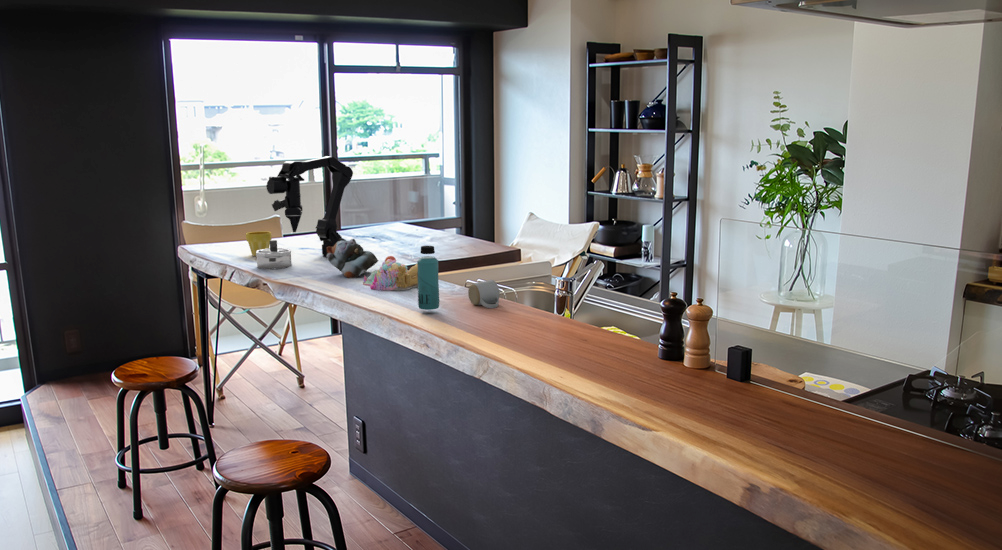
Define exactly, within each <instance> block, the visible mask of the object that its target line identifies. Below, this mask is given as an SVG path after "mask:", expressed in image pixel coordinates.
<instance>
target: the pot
mask: <svg viewBox="0 0 1002 550" xmlns="http://www.w3.org/2000/svg"><path fill="white" fill-rule="evenodd" d="M268 249H270V247H269V248H268ZM277 249H285V250H286V252H281V253H261V251H262V250H267V249H262V250H257V251H256V256H255V257H256V263H257V264H256V267H257V268H258V269H262V270H281V269H285V268H290V267H292V266H293V265H292V249H291V248H284V247H279V248H278V247H277Z"/></svg>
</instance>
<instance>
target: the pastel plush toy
mask: <svg viewBox="0 0 1002 550" xmlns="http://www.w3.org/2000/svg"><path fill="white" fill-rule="evenodd" d="M381 264H382V265H381V266H379V268H378V269H377V270H375V269H374V270H372V272H371V273H370V275H369V276H368V277H367V276H366V275H364V277H363V282H362V285H363V286H368V287H369V288H370V289H371V290H377V291H378V292H379V291H383V292H384V291H404V290H409V289H412V288H418V282H417V281H418V280H417V279H418V278H417V277H418V274H417V273H418V263H416V264H415V265H413V266H411V267H410V268H409V269H408V266H407V265H406V264H403V263H401V262H397V259H396V258H395V257H394V256H392V255H388V256H387V257H386V258H385V260H384V261H383V262H382V263H381Z"/></svg>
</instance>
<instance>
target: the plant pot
mask: <svg viewBox="0 0 1002 550" xmlns="http://www.w3.org/2000/svg"><path fill="white" fill-rule="evenodd" d="M245 238H246V239H245V240H246V242H248V246H249V248H250V252H251V255H252V256H253V257H257V256H256V251H257V250H262V249H268V248H270V241H271V240H272V232H271V231H263V230H262V231H250V232H246V233H245Z"/></svg>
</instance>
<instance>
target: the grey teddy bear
mask: <svg viewBox="0 0 1002 550" xmlns="http://www.w3.org/2000/svg"><path fill="white" fill-rule="evenodd" d="M325 258H326V259H327V261H328V262H329V264H330V265H332V266H334V268H335V269H337V270H338V271H339V272H340V273H341V274H343V276H344V277H345V278H348V279H358V277H360V276H361V275H363V274H365V273H366V271H368V270H369V269H371V268H372V267H373V266H375V265H376V264H377V263H378V262H379V259H378V258H377V256H376V255H375V254H374V253H373V252H371V251H369V250H364V248H363V247H362V246H361V244H359V243H357V241H356V239H355V238H351V239H350V240H347V239H345V238H343V237H342V238H340V239H339V241H338V242H337V243H336V244H335V245H334V246H333V247H330V246H329V247H327V256H326V257H325Z"/></svg>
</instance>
